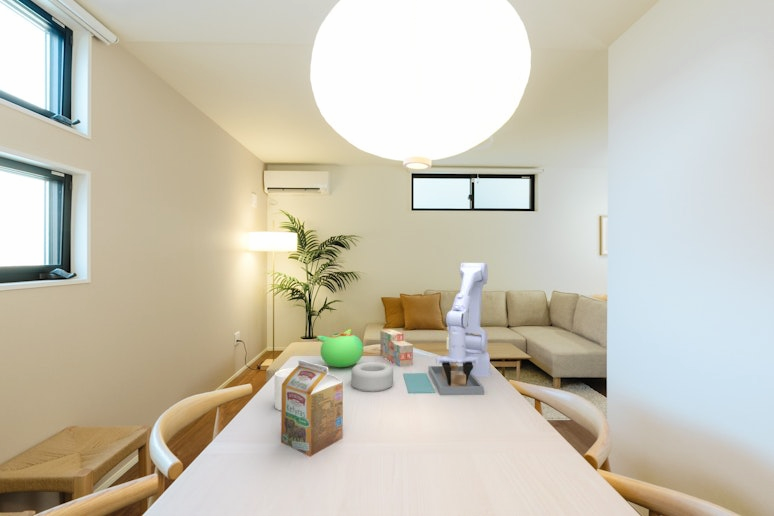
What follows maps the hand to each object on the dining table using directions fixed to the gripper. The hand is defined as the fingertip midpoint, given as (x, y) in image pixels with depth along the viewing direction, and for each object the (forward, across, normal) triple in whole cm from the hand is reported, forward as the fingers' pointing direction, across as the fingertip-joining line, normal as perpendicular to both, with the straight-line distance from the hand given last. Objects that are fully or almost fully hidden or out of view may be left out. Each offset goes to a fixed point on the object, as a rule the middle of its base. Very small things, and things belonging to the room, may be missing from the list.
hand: (456, 383), depth 124 cm
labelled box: (+1, 0, 0) cm, 1 cm away
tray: (+2, 0, +5) cm, 5 cm away
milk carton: (+2, -44, -34) cm, 56 cm away
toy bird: (+2, -42, +28) cm, 51 cm away
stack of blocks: (+2, -19, +36) cm, 40 cm away
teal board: (+2, -13, +5) cm, 14 cm away
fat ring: (+2, -30, +5) cm, 30 cm away
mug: (+2, -54, -14) cm, 55 cm away
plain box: (+1, 0, +11) cm, 11 cm away
